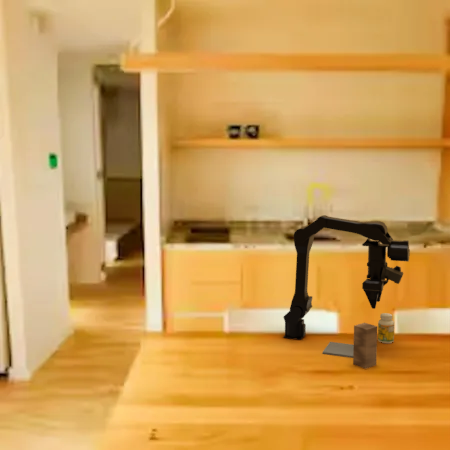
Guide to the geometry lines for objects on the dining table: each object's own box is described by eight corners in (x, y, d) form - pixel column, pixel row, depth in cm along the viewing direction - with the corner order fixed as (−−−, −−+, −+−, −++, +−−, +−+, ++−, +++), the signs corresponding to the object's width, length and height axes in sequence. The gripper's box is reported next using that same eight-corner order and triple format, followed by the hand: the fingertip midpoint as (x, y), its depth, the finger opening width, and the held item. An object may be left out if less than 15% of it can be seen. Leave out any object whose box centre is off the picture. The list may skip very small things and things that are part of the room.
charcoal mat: (322, 353, 194) (322, 351, 194) (330, 343, 204) (330, 341, 204) (356, 358, 190) (356, 356, 190) (362, 347, 200) (362, 345, 200)
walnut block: (353, 364, 185) (354, 325, 183) (363, 360, 188) (364, 322, 186) (365, 368, 181) (366, 329, 179) (376, 365, 184) (377, 326, 182)
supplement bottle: (396, 342, 205) (397, 315, 204) (385, 344, 202) (386, 317, 201) (386, 337, 210) (386, 311, 208) (374, 340, 207) (375, 313, 206)
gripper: (398, 266, 185) (396, 314, 187) (405, 256, 202) (403, 300, 204) (362, 264, 189) (361, 311, 191) (372, 254, 206) (371, 297, 208)
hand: (375, 304), depth 199 cm, fingers open, 9 cm apart
